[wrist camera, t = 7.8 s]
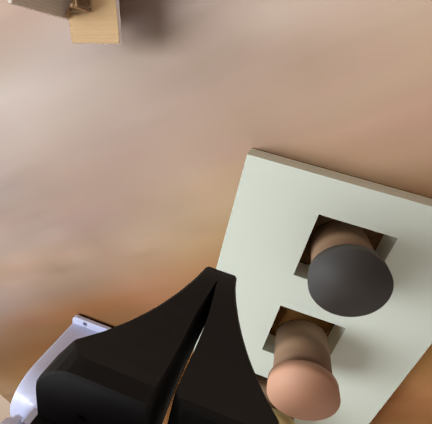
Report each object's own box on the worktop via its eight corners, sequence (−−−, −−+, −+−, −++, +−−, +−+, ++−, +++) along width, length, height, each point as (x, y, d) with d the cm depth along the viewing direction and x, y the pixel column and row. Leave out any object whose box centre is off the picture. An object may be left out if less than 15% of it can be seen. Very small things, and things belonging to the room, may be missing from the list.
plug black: (297, 260, 23) (297, 301, 19) (319, 208, 21) (324, 240, 17) (357, 280, 22) (371, 327, 18) (385, 228, 20) (409, 266, 16)
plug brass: (243, 388, 30) (234, 439, 26) (256, 358, 28) (248, 408, 24) (288, 406, 29) (287, 461, 25) (304, 376, 27) (306, 431, 23)
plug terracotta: (265, 348, 25) (258, 403, 21) (282, 308, 23) (278, 360, 19) (319, 368, 24) (324, 430, 20) (342, 329, 22) (352, 387, 18)
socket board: (186, 382, 32) (180, 399, 30) (251, 148, 21) (247, 154, 19) (335, 441, 30) (337, 463, 28) (497, 217, 19) (519, 231, 17)
